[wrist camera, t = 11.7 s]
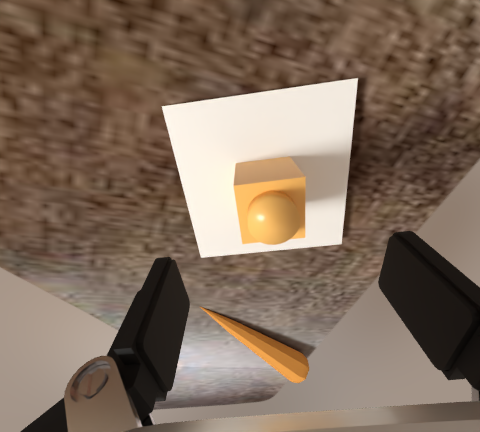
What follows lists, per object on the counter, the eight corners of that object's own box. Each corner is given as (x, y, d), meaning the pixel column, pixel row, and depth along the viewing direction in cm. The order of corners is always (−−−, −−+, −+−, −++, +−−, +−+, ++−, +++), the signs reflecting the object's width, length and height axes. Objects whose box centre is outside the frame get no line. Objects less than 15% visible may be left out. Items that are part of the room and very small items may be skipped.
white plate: (166, 105, 20) (140, 109, 15) (351, 79, 19) (390, 72, 14) (202, 251, 27) (193, 286, 22) (337, 238, 26) (359, 271, 21)
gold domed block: (235, 163, 21) (232, 193, 15) (289, 156, 21) (311, 184, 14) (242, 210, 23) (242, 255, 17) (290, 205, 23) (310, 249, 16)
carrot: (305, 349, 38) (318, 370, 34) (289, 371, 38) (300, 395, 34) (208, 286, 34) (209, 301, 30) (190, 311, 34) (189, 328, 30)
